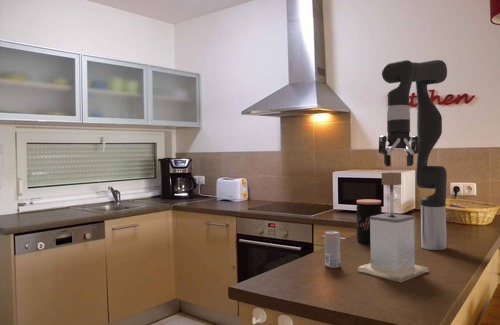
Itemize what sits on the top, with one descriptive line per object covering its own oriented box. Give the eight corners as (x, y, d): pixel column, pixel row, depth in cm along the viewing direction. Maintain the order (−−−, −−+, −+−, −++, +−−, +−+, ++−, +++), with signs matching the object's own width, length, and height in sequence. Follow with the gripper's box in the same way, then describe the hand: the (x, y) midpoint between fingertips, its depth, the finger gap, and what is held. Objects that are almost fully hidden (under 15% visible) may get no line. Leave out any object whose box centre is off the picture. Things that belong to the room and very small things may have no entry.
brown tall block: (388, 233, 144) (388, 171, 143) (408, 236, 138) (407, 172, 137) (376, 236, 139) (375, 172, 139) (395, 239, 134) (394, 173, 133)
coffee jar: (352, 242, 183) (351, 201, 183) (364, 237, 191) (363, 198, 191) (375, 245, 176) (374, 202, 175) (386, 240, 184) (385, 200, 183)
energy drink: (338, 263, 150) (337, 230, 150) (342, 267, 145) (341, 233, 145) (323, 264, 150) (323, 230, 150) (326, 268, 145) (326, 233, 144)
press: (385, 262, 150) (384, 211, 150) (428, 271, 138) (427, 216, 137) (357, 271, 140) (357, 216, 140) (401, 282, 128) (400, 222, 127)
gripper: (409, 120, 150) (410, 166, 150) (374, 120, 147) (374, 166, 147) (423, 118, 143) (423, 166, 143) (386, 117, 139) (386, 166, 139)
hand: (398, 166), depth 145 cm, fingers open, 8 cm apart
